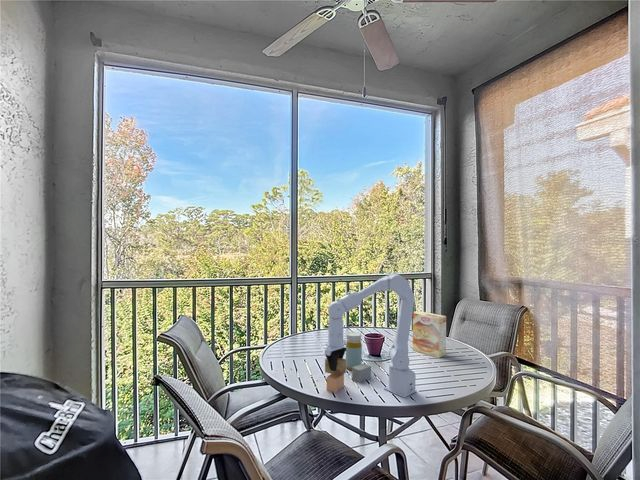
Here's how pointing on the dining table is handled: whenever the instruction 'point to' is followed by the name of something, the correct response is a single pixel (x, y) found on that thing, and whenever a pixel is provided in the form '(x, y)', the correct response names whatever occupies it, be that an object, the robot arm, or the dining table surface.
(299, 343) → the dining table surface
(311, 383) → the dining table surface
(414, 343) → the coffeecake box
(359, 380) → the slate brick
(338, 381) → the terracotta brick
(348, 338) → the bottle
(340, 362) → the walnut brick
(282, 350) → the dining table surface
